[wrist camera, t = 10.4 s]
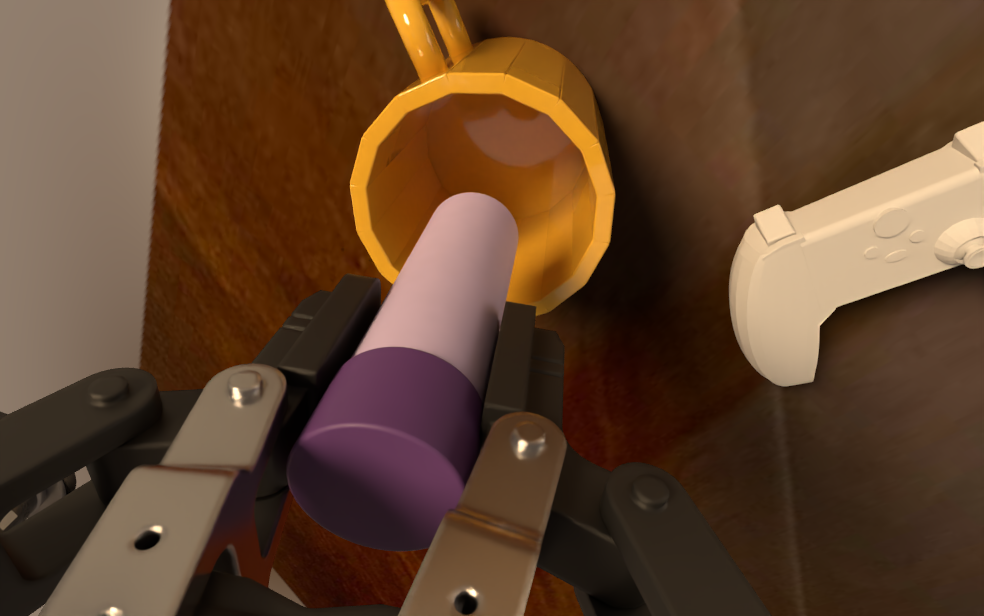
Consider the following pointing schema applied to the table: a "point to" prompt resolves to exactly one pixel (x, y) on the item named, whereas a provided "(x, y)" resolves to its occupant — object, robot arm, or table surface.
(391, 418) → the glue stick
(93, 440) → the robot arm
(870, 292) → the game controller
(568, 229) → the mug
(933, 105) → the table surface
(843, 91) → the table surface
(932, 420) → the table surface
